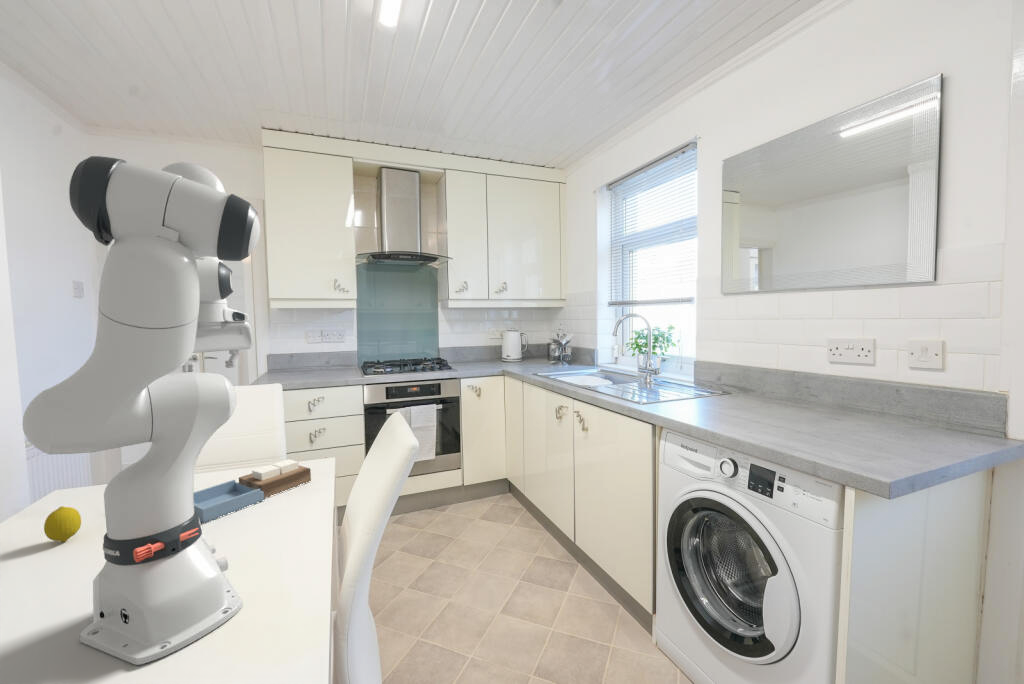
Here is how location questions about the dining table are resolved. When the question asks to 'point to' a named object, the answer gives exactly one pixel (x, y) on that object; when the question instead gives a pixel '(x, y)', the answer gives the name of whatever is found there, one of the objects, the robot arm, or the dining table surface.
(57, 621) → the dining table surface
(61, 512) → the lemon
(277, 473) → the tile front
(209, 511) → the box
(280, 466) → the tile rear
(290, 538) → the dining table surface
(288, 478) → the flat wooden block
